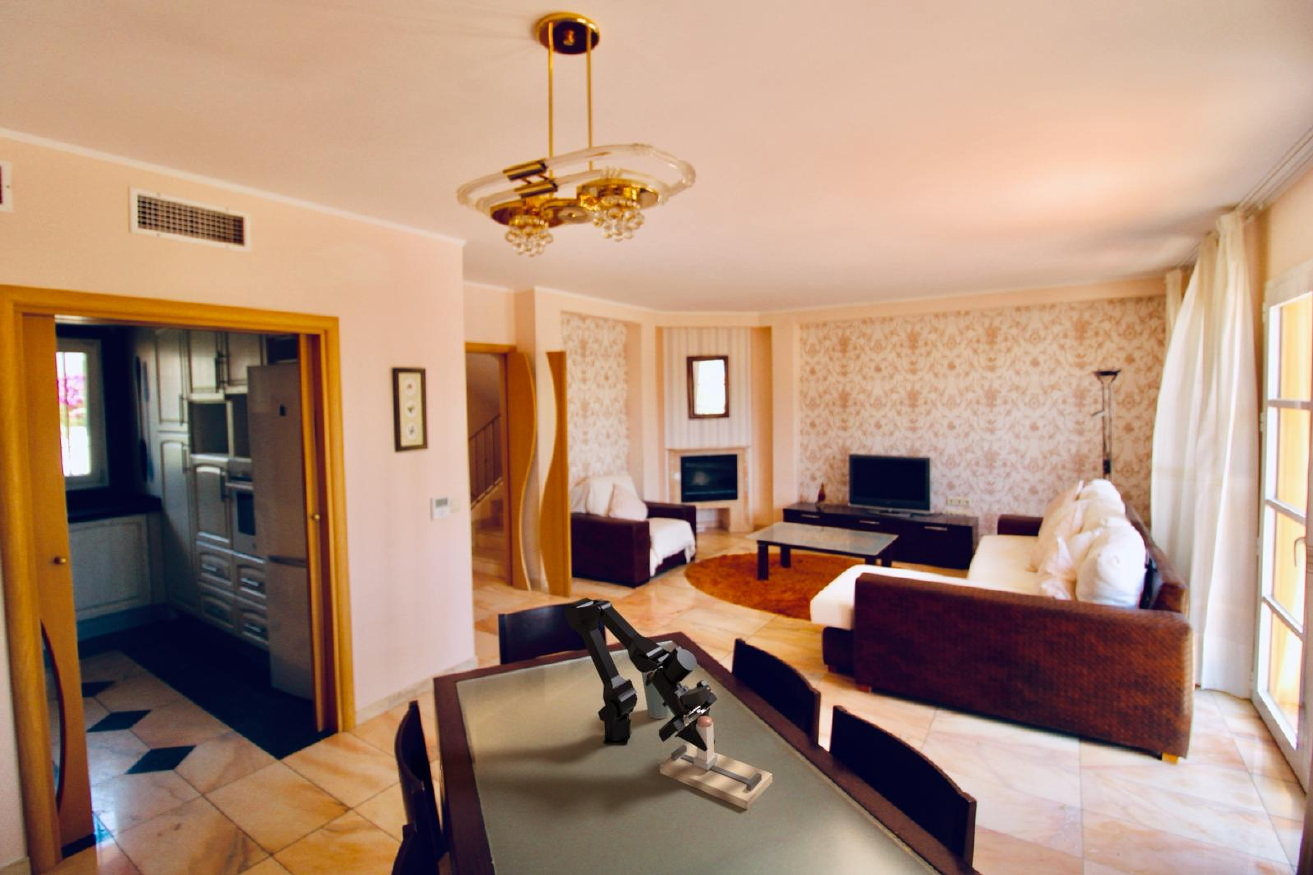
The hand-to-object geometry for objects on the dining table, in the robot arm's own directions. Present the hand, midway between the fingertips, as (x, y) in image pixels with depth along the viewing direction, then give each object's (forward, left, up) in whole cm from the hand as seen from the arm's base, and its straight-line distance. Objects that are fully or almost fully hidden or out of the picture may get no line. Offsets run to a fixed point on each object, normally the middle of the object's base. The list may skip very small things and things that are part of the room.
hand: (710, 747), depth 149 cm
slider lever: (-1, +1, -4) cm, 5 cm away
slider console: (+1, -1, -7) cm, 7 cm away
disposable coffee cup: (-16, +29, -7) cm, 34 cm away
